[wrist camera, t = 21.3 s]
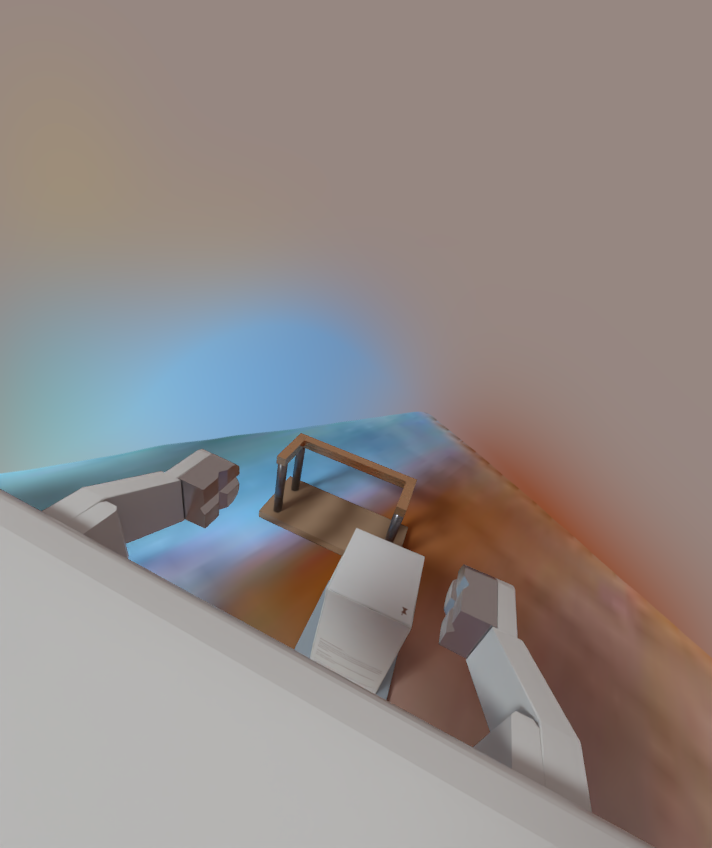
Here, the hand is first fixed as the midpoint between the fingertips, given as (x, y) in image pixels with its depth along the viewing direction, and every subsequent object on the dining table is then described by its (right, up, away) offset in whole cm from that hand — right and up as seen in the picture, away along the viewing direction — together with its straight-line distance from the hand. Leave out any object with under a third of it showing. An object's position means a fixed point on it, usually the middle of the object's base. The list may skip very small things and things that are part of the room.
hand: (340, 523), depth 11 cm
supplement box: (0, -20, +25) cm, 32 cm away
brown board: (-3, -11, +38) cm, 40 cm away
